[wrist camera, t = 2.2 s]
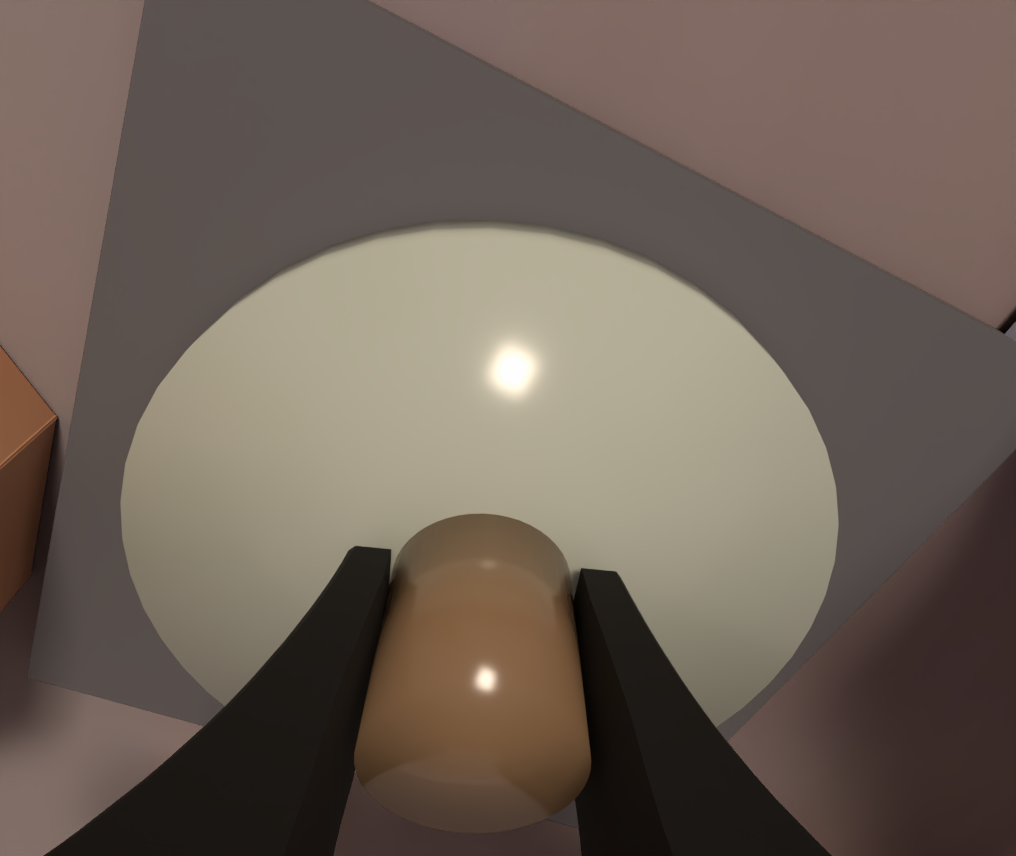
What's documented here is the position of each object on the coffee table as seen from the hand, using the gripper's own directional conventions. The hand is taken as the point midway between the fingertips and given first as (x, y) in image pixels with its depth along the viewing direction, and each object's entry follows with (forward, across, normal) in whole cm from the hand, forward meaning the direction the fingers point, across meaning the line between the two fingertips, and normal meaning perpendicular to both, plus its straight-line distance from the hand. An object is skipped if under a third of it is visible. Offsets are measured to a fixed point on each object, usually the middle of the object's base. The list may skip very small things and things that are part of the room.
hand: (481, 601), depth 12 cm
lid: (+1, 0, 0) cm, 1 cm away
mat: (+2, 0, 0) cm, 2 cm away
